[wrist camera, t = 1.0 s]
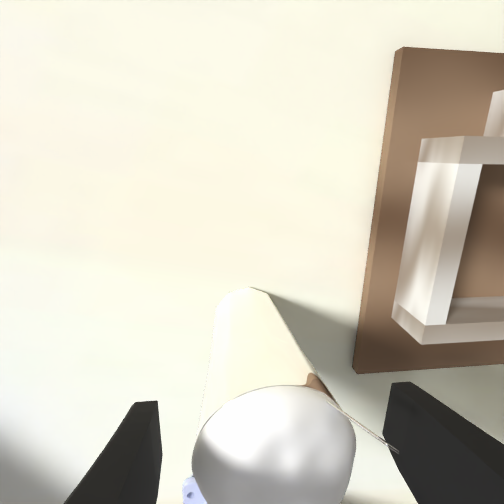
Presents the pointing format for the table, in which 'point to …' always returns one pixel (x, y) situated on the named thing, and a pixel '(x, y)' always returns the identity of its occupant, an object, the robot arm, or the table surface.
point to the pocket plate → (437, 218)
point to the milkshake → (268, 415)
